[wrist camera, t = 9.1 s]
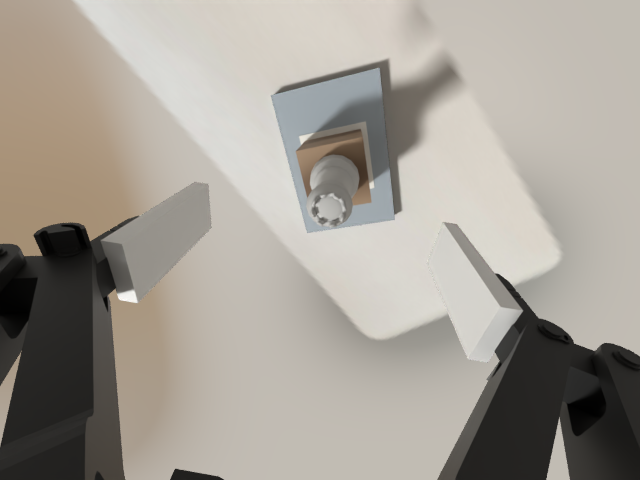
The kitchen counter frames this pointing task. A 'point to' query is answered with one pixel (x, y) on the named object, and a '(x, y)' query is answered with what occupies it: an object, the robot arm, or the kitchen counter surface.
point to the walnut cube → (336, 144)
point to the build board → (333, 118)
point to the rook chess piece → (332, 190)
